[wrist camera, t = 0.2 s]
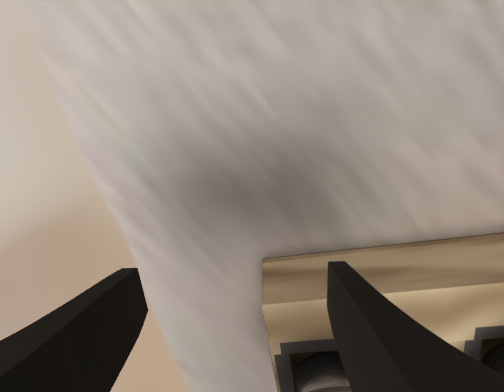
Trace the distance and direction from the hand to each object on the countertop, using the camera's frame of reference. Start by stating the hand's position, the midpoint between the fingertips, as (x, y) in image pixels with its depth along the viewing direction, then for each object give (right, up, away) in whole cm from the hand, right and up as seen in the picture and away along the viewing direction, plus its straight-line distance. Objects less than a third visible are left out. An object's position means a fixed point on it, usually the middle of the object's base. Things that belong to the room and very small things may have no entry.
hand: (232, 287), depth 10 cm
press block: (+12, -6, +12) cm, 18 cm away
